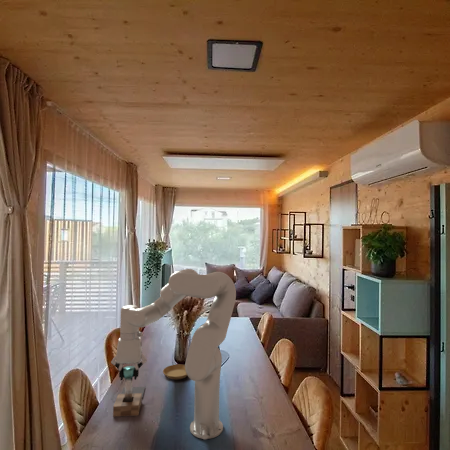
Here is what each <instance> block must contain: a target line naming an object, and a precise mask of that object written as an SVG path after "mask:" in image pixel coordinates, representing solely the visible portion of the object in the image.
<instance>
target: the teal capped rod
mask: <svg viewBox="0 0 450 450" xmlns="http://www.w3.org/2000/svg"><path fill="white" fill-rule="evenodd" d="M134 371H135V365H128V366H125V367H124V366H123V379H124V388H125V402H132V387H133V378H134Z"/></svg>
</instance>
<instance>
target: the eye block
mask: <svg viewBox="0 0 450 450" xmlns="http://www.w3.org/2000/svg"><path fill="white" fill-rule="evenodd" d="M142 401H143V400H142V393H133V394H132V402H125V394H121V393H118V394H117V396H116V398H115V402H114V404H113V409H112V410H113V413H112V417H127V416H128V417H129V416H131V417H132V416H133V417H134V416H140V415H139V414H140V410H141V406H142Z"/></svg>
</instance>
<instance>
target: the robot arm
mask: <svg viewBox="0 0 450 450" xmlns="http://www.w3.org/2000/svg"><path fill="white" fill-rule="evenodd" d="M236 290H237V289H236V286H235V283H234V281H233V279H232V278H231V277H230V276H229V275H228V274H227V273H225V272H223V271H214V272H210V273H207V274H199V273H198V271H196V270H195V269H191V268H185V269H181V270H176V271H174V272H173V273H172V274H171V275H170V276H169V278H168V283H167V284H165V285H164V286H163V287H162V288H161V290H160V292H159V293H160V296H159V297H157V299H156V300H154V301H153V302H152V303H151V304H149V305H145V306H143V307H140V308H139V306H138V305H136V304H126V305H124V306H122V307H121V308H120V325H119V327H120V328H119V329H120V331H119V333H120V335H119V338H118V340H117V344H116V345H117V347H116V355H115V356H114V357H113V358H112V360H111V361H110V363H111V364H112V365H113V366H114V367H115V368H116V369H118V373H119V374H118V377H119V378H120V381H123V380H124V378H123V368H124V365H125V364H134V365H133V366H134V367H135V371H134V377H133V378H134V380H135V381H136V380H137V378H138V377H139V370H140V368H141V367H142V366H143V365H144V364H145V363H147V361H148V359H147V357H146V356H145V355H144V354H143V346H142V345H143V344H142V338H141V336H143V331H140V328H144V327H147V326H149V325H151V324H153V323H156V322H158V321H159V320H160V319H162V318H163V317H164V316H165V315H167V314H168V313H169V312H170V311H171V310H172V309H173V308H174V307H175V305H176V304H178V303H179V302H180V301H181V300H183V299H184V298H185V297H190V298H191V297H192V298H196V299H197V298H198V299H205V300H206V299H212V298H213V301H212V303H211V304H210V309H209V311H208V315H207V318H206V321H204V323H202V325H200V326H199V327H198V328H196V330H195V331H194V333H193V335H192V337H191V340H190V343H189V344H190V345H189V347H188V351H187V355H186V359H185V364H184V365H185V370H186V373H187V377H188V379H190V380H191V381H193V382H194V408H193V409H194V410H193V413H194V414H193V421H191V423H190V425H189V431H190V433H191V434H192V435H193V436H194V437H195V438H199V439H203V440H208V439H209V440H210V439H215V438H216V437H218V436H219V435H221V434H222V432H223V430H224V424H223V422H222V421H221V420H220V386H221V384H220V383H221V370H222V363H223V357H222V355H223V354H222V353H221V350H220V348H219V346H220V345H222V344H223V342H224V341H225V340H226V336H227V333H228V329H229V326H230V324H231V323H230V322H231V318H232V314H233V311H234V307H235V304H236V299H237V298H236V297H237V292H236Z"/></svg>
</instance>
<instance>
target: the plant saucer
mask: <svg viewBox="0 0 450 450" xmlns="http://www.w3.org/2000/svg"><path fill="white" fill-rule="evenodd" d="M162 373H163V374H164V376H165V377H167V378H168V379H171V380H182V379H185V378H186V377H188V375H187V373H186V370H185V364H180V363H178V364H172V365H168V366H166V367H164V368H163V370H162Z"/></svg>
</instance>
